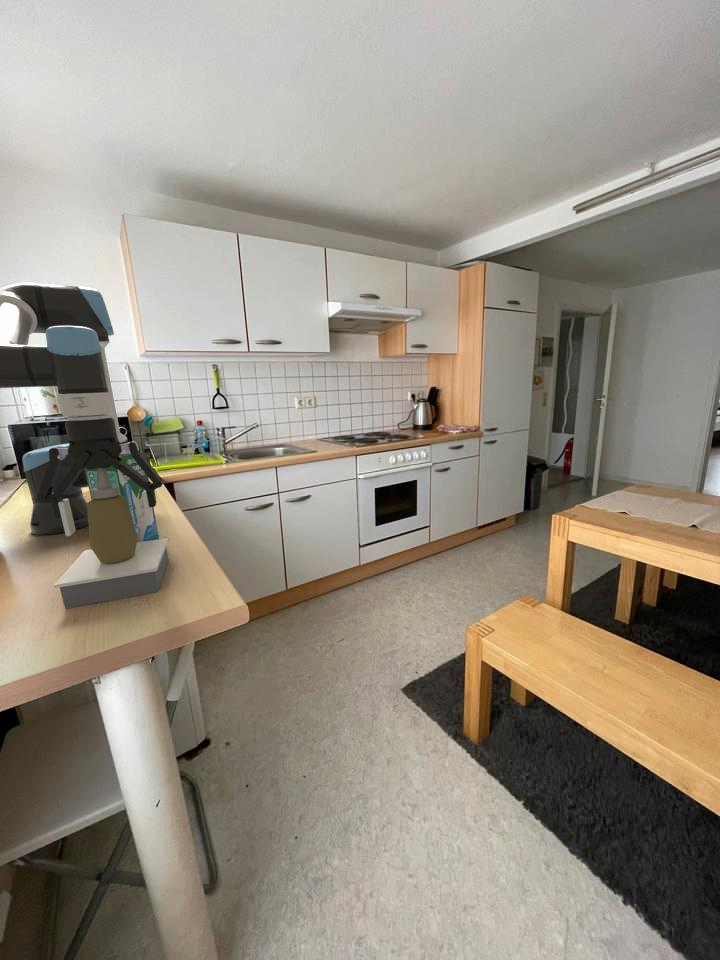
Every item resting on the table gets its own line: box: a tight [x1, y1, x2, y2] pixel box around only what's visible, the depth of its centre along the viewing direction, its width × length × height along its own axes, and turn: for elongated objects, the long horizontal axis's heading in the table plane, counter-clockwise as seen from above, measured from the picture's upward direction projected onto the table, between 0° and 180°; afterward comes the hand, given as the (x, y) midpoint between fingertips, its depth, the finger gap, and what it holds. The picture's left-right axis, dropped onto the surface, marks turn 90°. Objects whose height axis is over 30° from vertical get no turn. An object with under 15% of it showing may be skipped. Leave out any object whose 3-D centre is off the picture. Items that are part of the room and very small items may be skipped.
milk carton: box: [85, 450, 160, 542], centre depth 95 cm, size 9×9×25 cm
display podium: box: [54, 537, 170, 609], centre depth 77 cm, size 16×16×5 cm
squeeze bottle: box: [87, 468, 138, 563], centre depth 75 cm, size 8×8×18 cm
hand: (112, 528), depth 75 cm, fingers open, 13 cm apart
